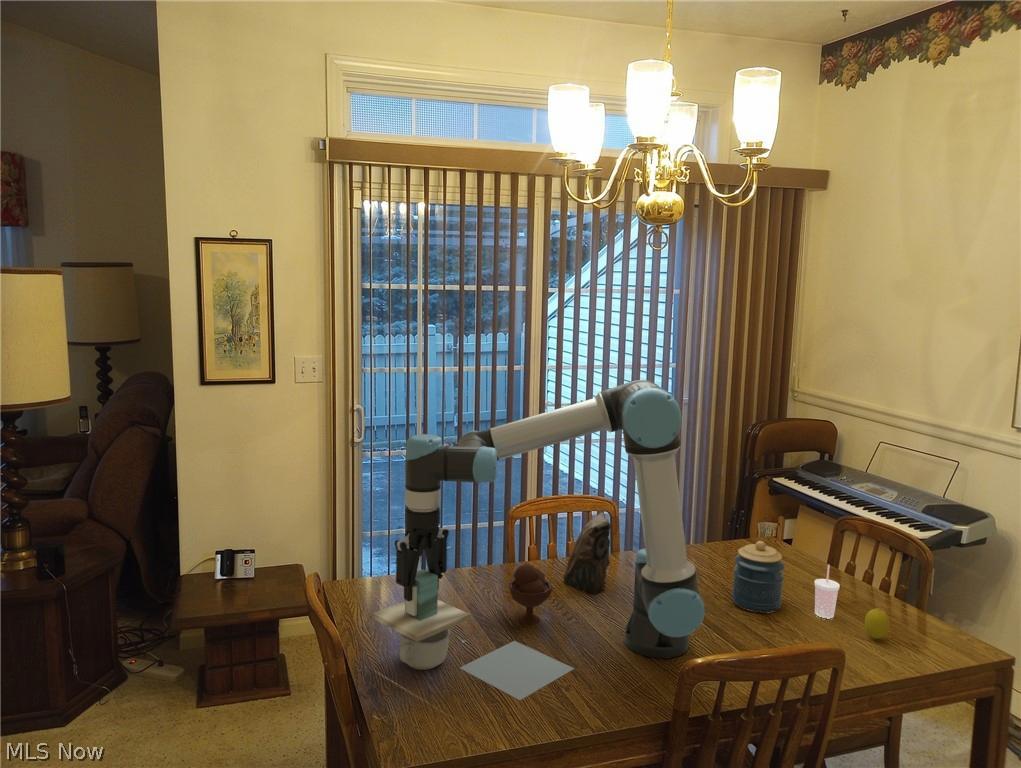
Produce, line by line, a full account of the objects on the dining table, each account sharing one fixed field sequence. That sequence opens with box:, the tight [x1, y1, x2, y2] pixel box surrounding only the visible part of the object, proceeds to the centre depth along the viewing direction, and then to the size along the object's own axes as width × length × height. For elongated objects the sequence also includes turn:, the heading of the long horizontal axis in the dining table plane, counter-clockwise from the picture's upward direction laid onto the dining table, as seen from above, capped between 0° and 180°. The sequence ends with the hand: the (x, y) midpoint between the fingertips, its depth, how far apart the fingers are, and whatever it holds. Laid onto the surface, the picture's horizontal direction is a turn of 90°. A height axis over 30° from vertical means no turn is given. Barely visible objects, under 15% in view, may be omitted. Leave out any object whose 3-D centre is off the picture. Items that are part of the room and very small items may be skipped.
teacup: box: [398, 628, 451, 671], centre depth 168 cm, size 14×11×8 cm
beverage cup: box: [814, 564, 840, 619], centre depth 198 cm, size 6×6×14 cm
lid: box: [372, 568, 470, 642], centre depth 166 cm, size 15×15×10 cm
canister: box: [731, 540, 786, 612], centre depth 204 cm, size 13×13×18 cm
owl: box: [562, 511, 612, 596], centre depth 213 cm, size 13×13×20 cm
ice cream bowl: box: [508, 563, 553, 625], centre depth 191 cm, size 11×11×15 cm
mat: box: [459, 640, 575, 701], centre depth 168 cm, size 18×18×1 cm
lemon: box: [864, 607, 891, 640], centre depth 186 cm, size 6×6×8 cm
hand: (421, 609), depth 166 cm, fingers closed on lid, 5 cm apart
